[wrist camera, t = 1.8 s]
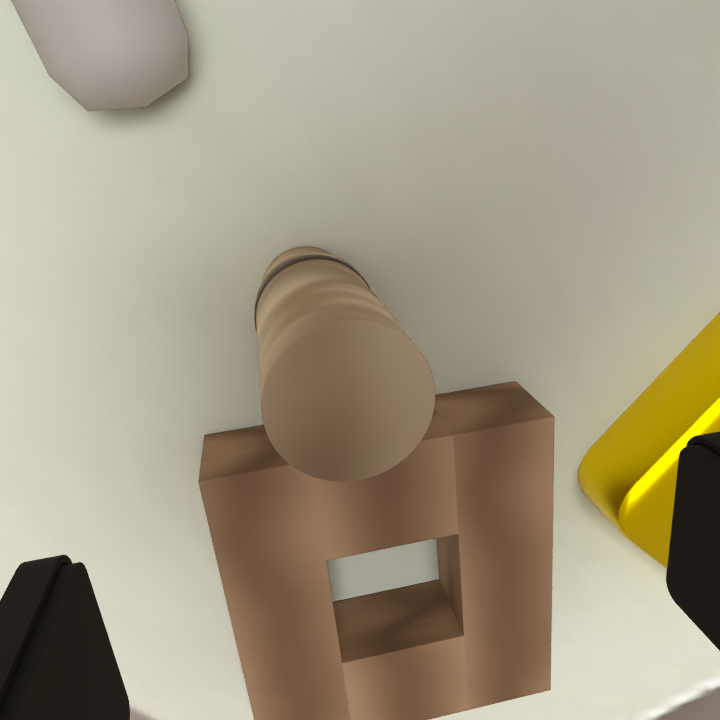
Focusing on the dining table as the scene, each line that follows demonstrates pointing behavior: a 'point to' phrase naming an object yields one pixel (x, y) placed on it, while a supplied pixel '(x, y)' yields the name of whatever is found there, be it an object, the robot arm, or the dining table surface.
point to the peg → (336, 370)
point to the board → (385, 530)
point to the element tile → (655, 445)
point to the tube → (109, 48)
